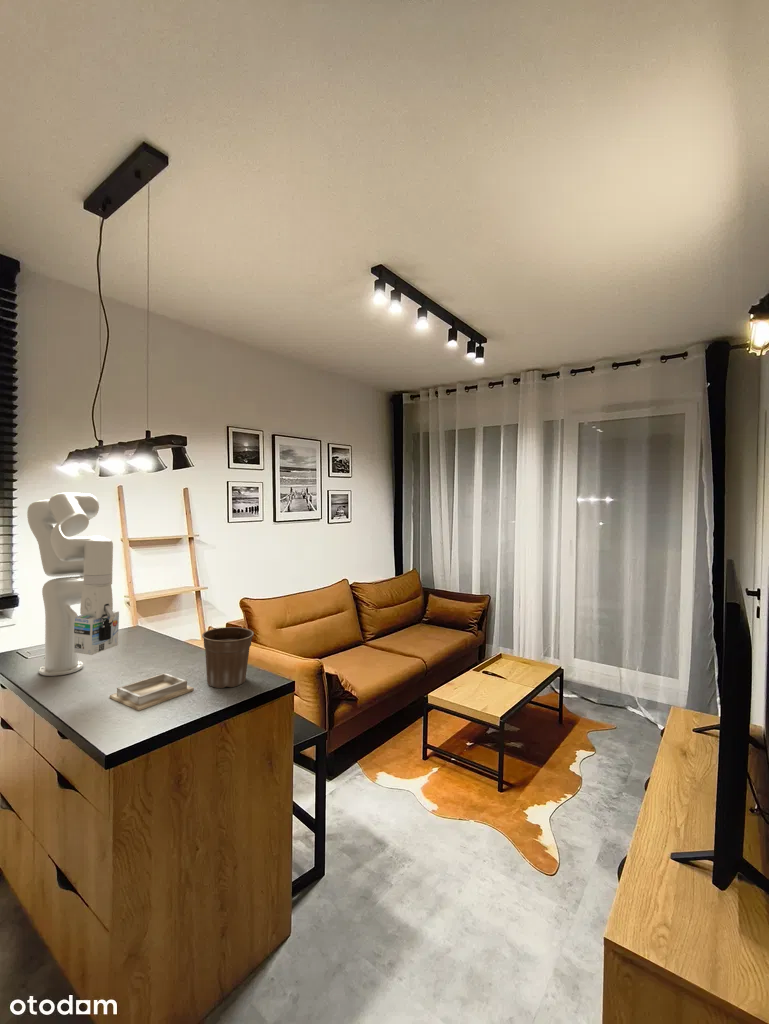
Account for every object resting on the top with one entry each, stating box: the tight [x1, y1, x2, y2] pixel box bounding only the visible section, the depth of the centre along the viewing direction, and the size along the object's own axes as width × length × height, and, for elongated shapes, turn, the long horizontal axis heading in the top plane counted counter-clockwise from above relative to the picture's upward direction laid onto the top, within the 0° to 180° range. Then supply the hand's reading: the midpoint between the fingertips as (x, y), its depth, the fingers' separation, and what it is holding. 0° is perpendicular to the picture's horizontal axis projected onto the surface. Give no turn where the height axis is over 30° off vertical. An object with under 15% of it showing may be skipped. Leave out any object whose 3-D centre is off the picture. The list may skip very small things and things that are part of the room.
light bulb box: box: [74, 610, 120, 656], centre depth 147 cm, size 11×7×11 cm, turn 167°
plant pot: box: [201, 626, 254, 689], centre depth 161 cm, size 16×16×16 cm
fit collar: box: [109, 672, 195, 711], centre depth 149 cm, size 15×18×3 cm
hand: (96, 636), depth 147 cm, fingers closed on light bulb box, 8 cm apart
